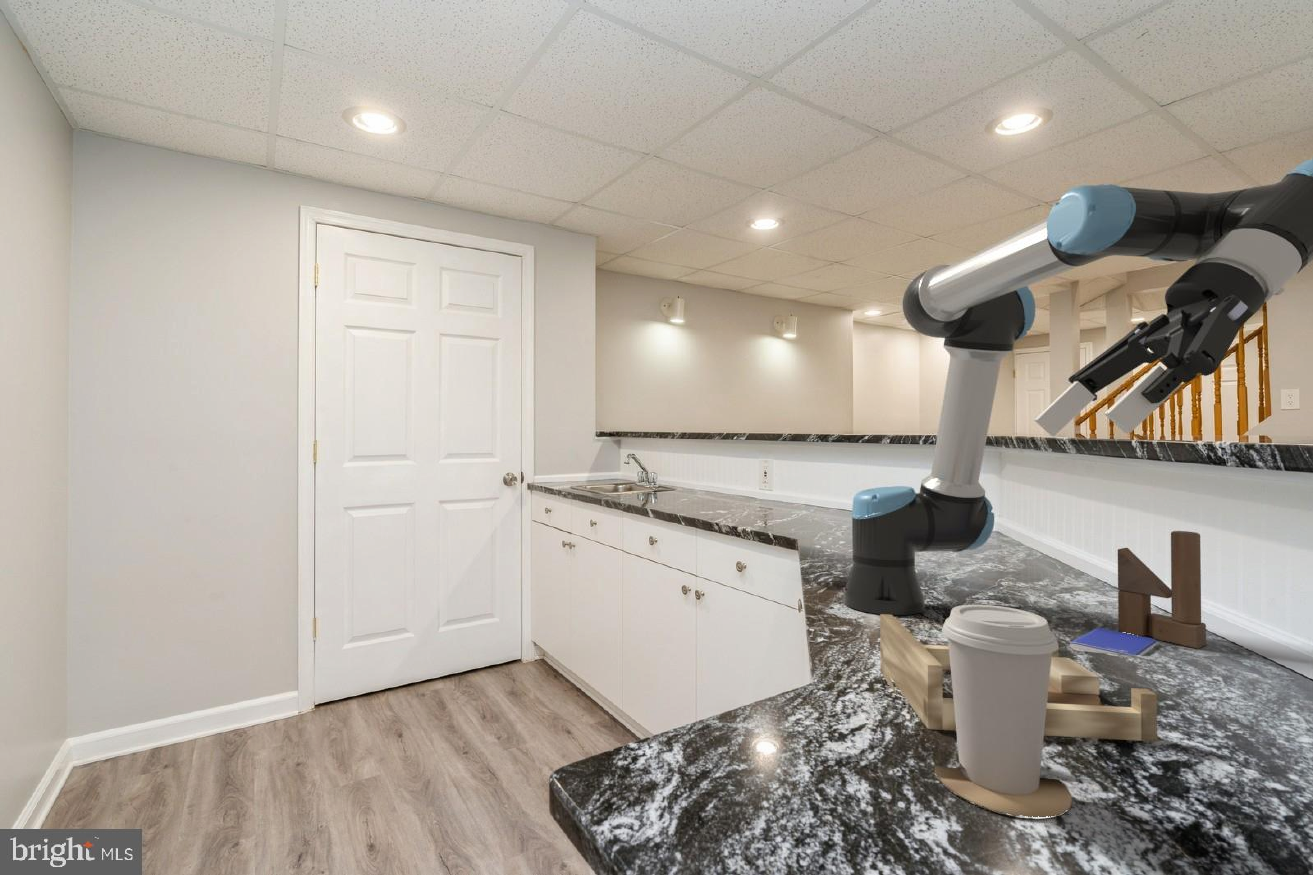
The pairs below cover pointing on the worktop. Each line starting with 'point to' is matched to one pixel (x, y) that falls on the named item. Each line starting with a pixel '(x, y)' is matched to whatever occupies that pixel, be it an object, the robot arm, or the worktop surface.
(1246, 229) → the robot arm
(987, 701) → the coffee cup
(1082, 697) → the offcut mid
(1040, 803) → the trivet
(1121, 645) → the hard drive
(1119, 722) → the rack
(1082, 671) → the offcut top
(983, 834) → the worktop surface
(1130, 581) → the brown wooden block structure
